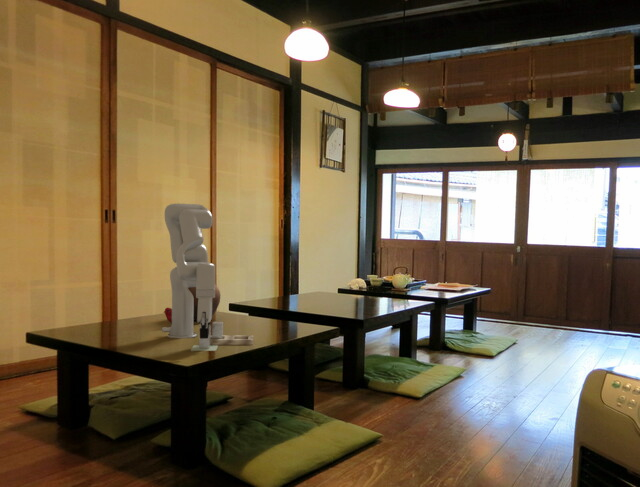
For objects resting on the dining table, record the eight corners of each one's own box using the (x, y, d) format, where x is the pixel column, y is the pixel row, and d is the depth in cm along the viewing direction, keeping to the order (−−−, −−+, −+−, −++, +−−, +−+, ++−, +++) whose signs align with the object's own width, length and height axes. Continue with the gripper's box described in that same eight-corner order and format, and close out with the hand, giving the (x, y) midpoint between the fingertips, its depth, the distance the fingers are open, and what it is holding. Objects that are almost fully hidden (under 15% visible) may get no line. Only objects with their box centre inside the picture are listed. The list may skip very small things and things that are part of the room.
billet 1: (199, 348, 217) (199, 326, 217) (200, 346, 221) (200, 324, 221) (209, 348, 217) (209, 326, 217) (210, 346, 221) (210, 324, 221)
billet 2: (212, 344, 228) (212, 323, 228) (213, 342, 232) (213, 321, 232) (221, 344, 229) (222, 323, 228) (222, 342, 233) (222, 321, 232)
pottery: (167, 319, 287) (167, 272, 287) (201, 314, 306) (201, 270, 305) (195, 325, 274) (196, 275, 273) (229, 319, 292) (229, 273, 291)
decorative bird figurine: (161, 328, 263) (161, 307, 263) (191, 323, 277) (191, 304, 277) (164, 328, 261) (165, 308, 261) (195, 324, 275) (195, 304, 275)
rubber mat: (190, 352, 214) (190, 350, 214) (193, 346, 224) (193, 345, 224) (216, 352, 214) (216, 350, 214) (218, 346, 224) (218, 345, 224)
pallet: (204, 346, 225) (204, 340, 225) (206, 341, 235) (207, 335, 235) (252, 346, 227) (252, 340, 227) (253, 341, 237) (253, 335, 237)
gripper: (199, 291, 227) (198, 332, 227) (193, 295, 209) (192, 340, 209) (217, 291, 227) (217, 332, 227) (212, 295, 210) (212, 340, 210)
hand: (205, 336), depth 218 cm, fingers open, 9 cm apart
